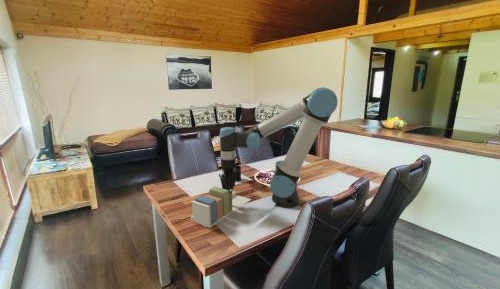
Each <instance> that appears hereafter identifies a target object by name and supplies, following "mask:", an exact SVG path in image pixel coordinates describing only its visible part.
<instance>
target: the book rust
mask: <svg viewBox="0 0 500 289" xmlns="http://www.w3.org/2000/svg"><path fill="white" fill-rule="evenodd" d="M205 196H206V197H209V198H213V199H216V208H217V220H219V219H220V218H222V217H223V208H222V199H221V198H218V197H215V196H212V195H210V194H208V195H205Z"/></svg>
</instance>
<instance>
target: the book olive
mask: <svg viewBox="0 0 500 289" xmlns="http://www.w3.org/2000/svg"><path fill="white" fill-rule="evenodd" d="M208 192H209V195H212V196H215V197H218V198H221V199H222V208H223V216H225V215H227V214H228V213H229V190H226V189H222V187H218V186H212V187H211V188H209V191H208Z"/></svg>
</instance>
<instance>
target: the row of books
mask: <svg viewBox="0 0 500 289" xmlns="http://www.w3.org/2000/svg"><path fill="white" fill-rule="evenodd" d="M251 200H252V198H249V197H245V196H241V195H238V194H237V192H236V191H235V190H232V211H230V212H229V213H228V214H227V215H225V216H223V217H222V218H220V219H219V220H217V222H215V223H214V224H212V225H211V217H210V206H208V205H205V204H202V203H199V202H196V201H195V200H192V201H191V208H192V209H191V210H192V215H191V216H190V221H192V222H194V223H197V224H199V225H201V226H204V227H207V228H208V229H210V228H212V227H214V226H216V224H218V223H219V222H221V221H222V220H224V219H225V218H226V217H228V216H230V214H231V215H232V213H234V212H235V211H237V210H238V209H240V208H241V207H243V206H244V205H246V204H247V203H248V202H250V201H251Z"/></svg>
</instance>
